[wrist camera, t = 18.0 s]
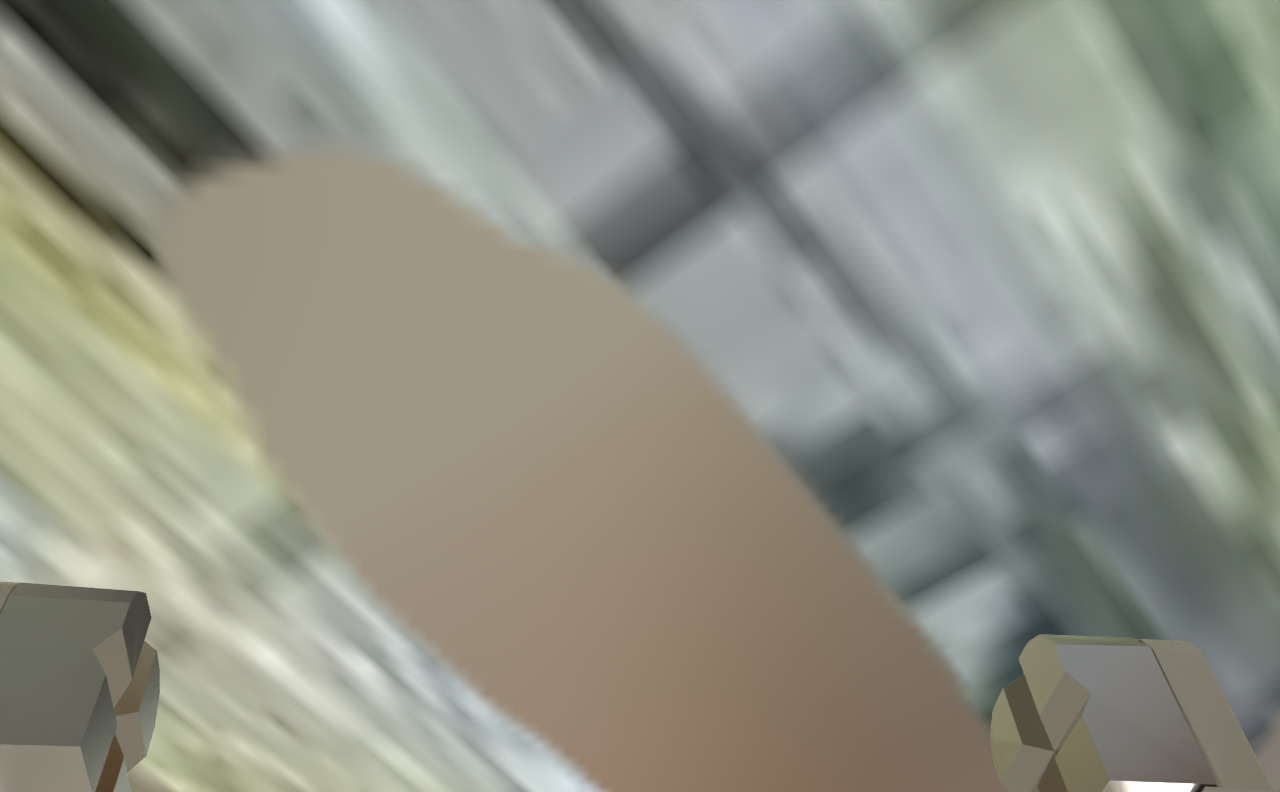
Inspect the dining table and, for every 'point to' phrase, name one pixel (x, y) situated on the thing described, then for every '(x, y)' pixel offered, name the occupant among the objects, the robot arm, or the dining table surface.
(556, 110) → the dining table surface
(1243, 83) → the dining table surface
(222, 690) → the dining table surface
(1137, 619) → the dining table surface
